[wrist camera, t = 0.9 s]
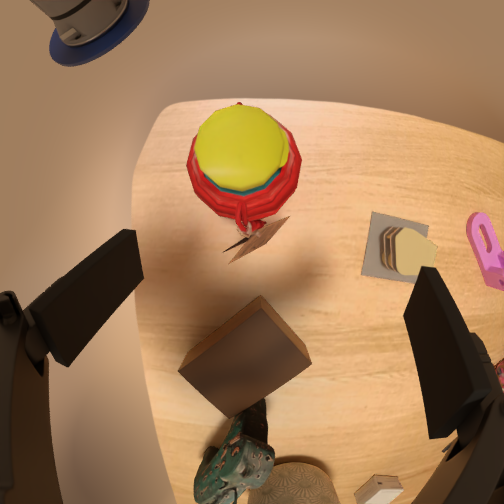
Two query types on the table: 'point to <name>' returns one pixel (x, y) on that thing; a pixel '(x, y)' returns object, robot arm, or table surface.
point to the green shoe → (236, 459)
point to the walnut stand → (245, 359)
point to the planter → (295, 486)
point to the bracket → (491, 260)
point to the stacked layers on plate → (397, 249)
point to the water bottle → (244, 170)
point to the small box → (379, 490)
